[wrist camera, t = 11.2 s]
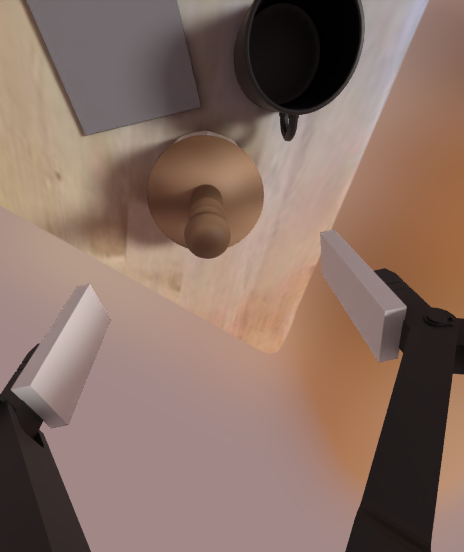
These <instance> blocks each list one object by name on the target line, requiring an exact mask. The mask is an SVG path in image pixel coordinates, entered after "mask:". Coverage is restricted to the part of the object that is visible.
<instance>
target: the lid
mask: <svg viewBox="0 0 464 552" xmlns="http://www.w3.org/2000/svg"><path fill="white" fill-rule="evenodd" d="M147 199H148V205H149V208H150V212H151V214H152V217H153V219H154V221H155V222H156V224H157V226H158V227H159V228H160V229H161V231H162V232H163V233H164V234H165V235H166V236H167V237H168V238H170V239H171V240H172V241H174V242H175V243H177V244H179V245H181V246H183V247H185V248H188V249H189V250H190V251H191V252H192V253H193V254H194V255H196V256H198V257H201V258H205V259H210V258H215V257H217V256H219V255H221V254H222V253H223V252H224V251H225V250H226V249H227V248H228V247H230V246H233V245H234V244H236V243H238V242H239V241H241V240H242V239H243V238H244V237H246V236H247V235H248V234H249V233H250V231H251V230H252V229H253V228H254V226H255V224H256V223H257V221H258V219H259V217H260V214H261V211H262V207H263V199H264V191H263V184H262V179H261V176H260V174H259V171H258V169H257V167H256V165H255V164H254V162H253V161H252V160H251V158H250V157H249V156H248V155H247V154H246V152H245V151H244V150H242V149H241V148H240V147H239V146H237V145H236V144H234V143H233V142H231V141H229V140H226V139H224V138H221V137H217V136H212V135H196V136H191V137H187V138H184V139H182V140H180V141H178V142H176V143H174V144H173V145H171V146H170V147H169V148H168V149H167V150H165V151H164V152H163V153H162V155H161V156H160V157H159V159H158V160H157V161H156V163H155V165H154V167H153V169H152V171H151V173H150V177H149V181H148V187H147Z"/></svg>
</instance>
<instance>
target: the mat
mask: <svg viewBox="0 0 464 552" xmlns="http://www.w3.org/2000/svg"><path fill="white" fill-rule="evenodd" d="M26 1H27V3H28V5H29V8H30V10H31V12H32V14H33V17H34V19H35V21H36V24H37V26H38V28H39V30H40V33H41V35H42V37H43V40H44V42H45V44H46V46H47V49H48V51H49V53H50V55H51V58H52V60H53V62H54V65H55V67H56V69H57V71H58V74H59V76H60V78H61V81H62V83H63V85H64V87H65V90H66V92H67V94H68V96H69V99H70V101H71V103H72V106H73V108H74V110H75V112H76V115H77V117H78V119H79V122H80V124H81V126H82V128H83V131H84V133H85V135H89V134H93V133H97V132H102V131H106V130H110V129H114V128H118V127H122V126H126V125H130V124H134V123H138V122H142V121H146V120H150V119H154V118H159V117H163V116H167V115H171V114H175V113H179V112H183V111H187V110H191V109H195V108H199V107H201V104H200V100H199V96H198V91H197V87H196V83H195V78H194V74H193V69H192V65H191V61H190V56H189V52H188V48H187V43H186V39H185V35H184V30H183V26H182V21H181V17H180V13H179V8H178V4H177V0H26Z"/></svg>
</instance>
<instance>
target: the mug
mask: <svg viewBox="0 0 464 552" xmlns="http://www.w3.org/2000/svg"><path fill="white" fill-rule="evenodd" d="M364 31H365V24H364V13H363V7H362V3H361V0H254V2H253V4H252V6H251V8H250V10H249V12H248V13H247V15H246V17H245V19H244V21H243V23H242V25H241V27H240V30H239V32H238V35H237V39H236V42H235V49H234V65H235V72H236V76H237V79H238V82H239V84H240V86H241V88H242V90H243V92H244V93H245V95H246V96H247V97H248V98H249V99H250V100H251V101H252V102H253V103H254V104H256V105H257V106H259V107H261V108H264V109H266V110H271V111H276V112H279V116H280V125H281V132H282V136H283V138H284V140H285V141H291V140H292V139H293V137H294V135H295V133H296V129H297V122H298V118H299V115H303V114H308V113H311V112H314V111H317V110H319V109H321V108H323V107H324V106H326V105H327V104H329V103H330V102H331V101H333V100H334V99H335V98H336V97H337V96H338V95H339V94H340V93H341V92H342V90H343V89H344V88H345V86H346V85H347V84H348V82H349V80H350V79H351V77H352V75H353V73H354V71H355V69H356V67H357V65H358V62H359V58H360V55H361V52H362V47H363V42H364ZM288 119H289V124H288Z"/></svg>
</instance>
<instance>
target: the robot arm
mask: <svg viewBox="0 0 464 552" xmlns="http://www.w3.org/2000/svg"><path fill="white" fill-rule="evenodd" d="M320 236H321V261H322V262H321V263H322V275H323V276H324V278H325V279H326V281H327V283H328V284H329V286H330V287H331V289H332V290H333V292H334V294H335V295H336V296H337V298H338V300H339V301H340V303H341V304H342V306H343V308H344V309H345V311H346V312H347V314H348V315H349V317H350V318H351V320H352V321H353V323H354V324H355V326H356V328H357V329H358V331H359V332H360V334H361V335H362V337H363V339H364V340H365V342H366V343H367V345H368V346H369V348H370V349H371V351H372V352H373V354H374V356H375V357H376V359H377V360H378V362H383V361H388V360H393V359H397V358H398V354H399V349H400V350H401V351H402V352H403V356H402V360H401V363H400V367H399V370H398V374H397V378H396V381H395V385H394V388H393V392H392V395H391V399H390V403H389V406H388V409H387V414H386V417H385V420H384V424H383V427H382V431H381V434H380V438H379V441H378V445H377V448H376V452H375V455H374V459H373V462H372V466H371V470H370V473H369V477H368V480H367V484H366V487H365V491H364V494H363V498H362V501H361V504H360V507H359V509H358V511H357V514H356V517H355V520H354V524H353V527H352V531H351V534H350V538H349V541H348V544H347V548H346V551H345V552H431V539H432V531H433V523H434V515H435V507H436V500H437V491H438V484H439V476H440V468H441V461H442V453H443V445H444V437H445V430H446V422H447V421H446V420H447V414H448V406H449V398H450V390H451V383H452V375H453V374H464V319H461V318H456V317H455V316H454V315H453V314H451V313H449V312H448V311H446V310H443V309H439V308H432V307H430V306H429V305H428V304H427V303H426V302H425V301H424V300H423V299H422V298H421V297H420V296H419V295H418V294H417V293H415V292H414V291H413V290H412V289H411V288H409V286H408V285H407V284H406V283H405V282H403V280H402V279H401V278H400V277H399V276H398V275H397V274H395V273H393V272H392V271H389V270H387V269H380V270H375V271H373V270H372V269H371V268H370V267H369V266H368V265H367V264H366V263H365V262H364V260H362V258H361V257H360V256H359V255H358V254H357V253H356V252H355V251H354V250H353V249H352V248H351V247H350V246H349V245H348V244H347V242H345V240H344V239H343V238H342V237H341V236H340V235H339V234H338V233H337V232H336V231H335V230H329V231H325V232H320ZM110 320H111V319H110V318H109V316H108V314H107V312H106V311H105V309H104V307H103V306H102V304H101V302H100V301H99V299H98V297H97V296H96V294H95V292H94V291H93V289H92V287H91V285H90V284H87V285H83V286H78V287H76V289H75V290H74V292H73V293H72V295H71V297H70V298H69V299H68V301H67V303H66V304H65V306H64V307H63V309H62V310H61V312H60V313H59V315H58V317H57V318H56V320H55V321H54V323H53V324H52V326H51V327H50V329H49V331H48V332H47V334H46V335H45V337H44V339H43V340H42V341H41V343H40V344H37V345H36V346H35V347H34V348H33V349H32V350H31V351H30V352H29V353H28V354H27V355H26V357H25V358H24V360H23V361H22V364H20V366H19V368H18V369H17V372H15V373H14V375H13V376H12V378H11V379H10V381H9V382H8V384H7V385H6V387H5V388H4V390H3V391H2V393H1V394H0V552H91V551H90V549H89V546H88V543H87V541H86V538H85V536H84V533H83V531H82V528H81V526H80V523H79V521H78V518H77V516H76V513H75V511H74V508H73V506H72V503H71V501H70V499H69V496H68V493H67V491H66V489H65V486H64V483H63V481H62V478H61V476H60V473H59V471H58V469H57V466H56V464H55V461H54V459H53V457H52V454H51V451H50V449H49V446H48V444H47V441H46V439H45V436H44V434H43V433H42V432H41V431H40V430H39V428H40V426H41V424H42V422H43V421H44V422H45V423H46V424H47V425H48V426H49V427H50V428H56V427H60V426H65V425H68V424H69V422H70V420H71V417H72V415H73V412H74V410H75V407H76V405H77V402H78V400H79V397H80V395H81V392H82V390H83V387H84V385H85V383H86V380H87V378H88V375H89V372H90V370H91V367H92V365H93V363H94V360H95V358H96V355H97V353H98V350H99V348H100V345H101V343H102V340H103V338H104V335H105V333H106V330H107V328H108V325H109V323H110Z"/></svg>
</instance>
